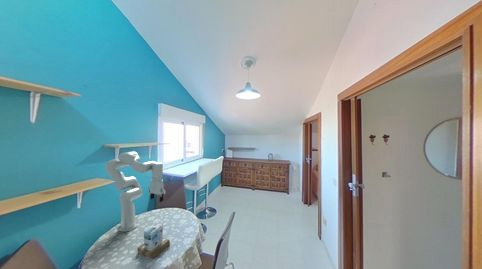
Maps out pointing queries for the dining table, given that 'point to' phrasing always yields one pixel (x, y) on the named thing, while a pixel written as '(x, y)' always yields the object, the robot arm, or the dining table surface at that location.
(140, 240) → the dining table surface
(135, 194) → the robot arm
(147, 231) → the light bulb box
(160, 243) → the plinth
